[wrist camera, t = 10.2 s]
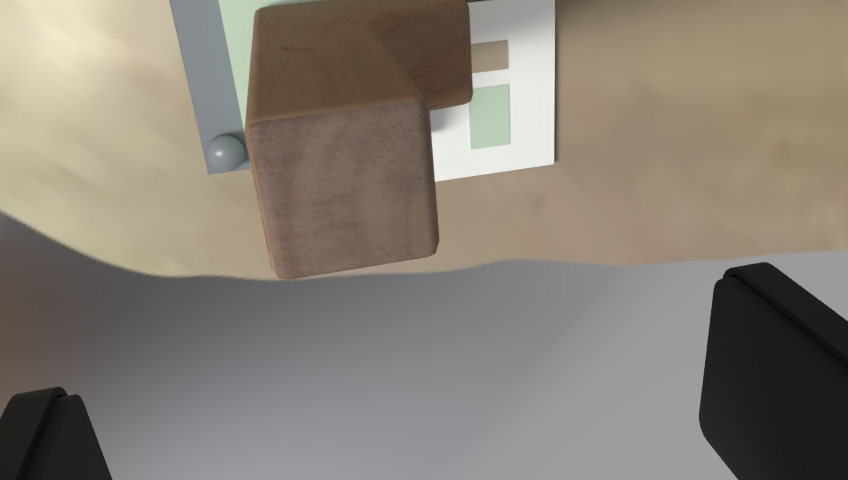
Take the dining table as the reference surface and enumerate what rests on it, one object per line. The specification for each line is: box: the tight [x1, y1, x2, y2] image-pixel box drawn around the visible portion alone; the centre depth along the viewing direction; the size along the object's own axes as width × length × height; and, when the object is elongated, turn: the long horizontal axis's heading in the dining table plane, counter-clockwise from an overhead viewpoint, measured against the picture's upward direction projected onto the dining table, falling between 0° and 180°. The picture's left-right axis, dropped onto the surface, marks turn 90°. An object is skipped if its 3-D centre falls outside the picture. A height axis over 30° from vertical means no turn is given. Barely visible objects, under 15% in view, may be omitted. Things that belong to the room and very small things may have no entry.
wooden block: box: [244, 0, 473, 280], centre depth 26 cm, size 9×4×18 cm, turn 95°
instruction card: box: [430, 0, 555, 181], centre depth 41 cm, size 8×10×1 cm
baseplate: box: [169, 0, 326, 174], centre depth 36 cm, size 12×12×5 cm
